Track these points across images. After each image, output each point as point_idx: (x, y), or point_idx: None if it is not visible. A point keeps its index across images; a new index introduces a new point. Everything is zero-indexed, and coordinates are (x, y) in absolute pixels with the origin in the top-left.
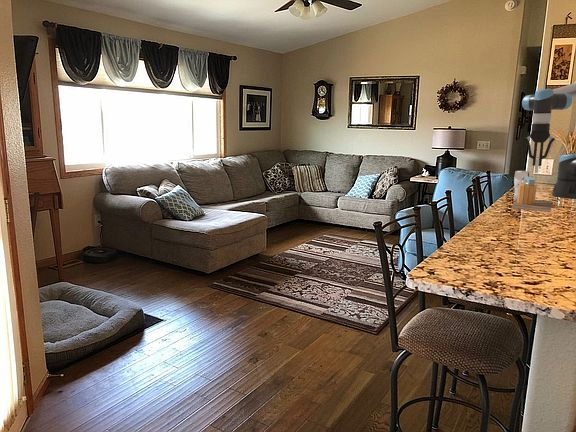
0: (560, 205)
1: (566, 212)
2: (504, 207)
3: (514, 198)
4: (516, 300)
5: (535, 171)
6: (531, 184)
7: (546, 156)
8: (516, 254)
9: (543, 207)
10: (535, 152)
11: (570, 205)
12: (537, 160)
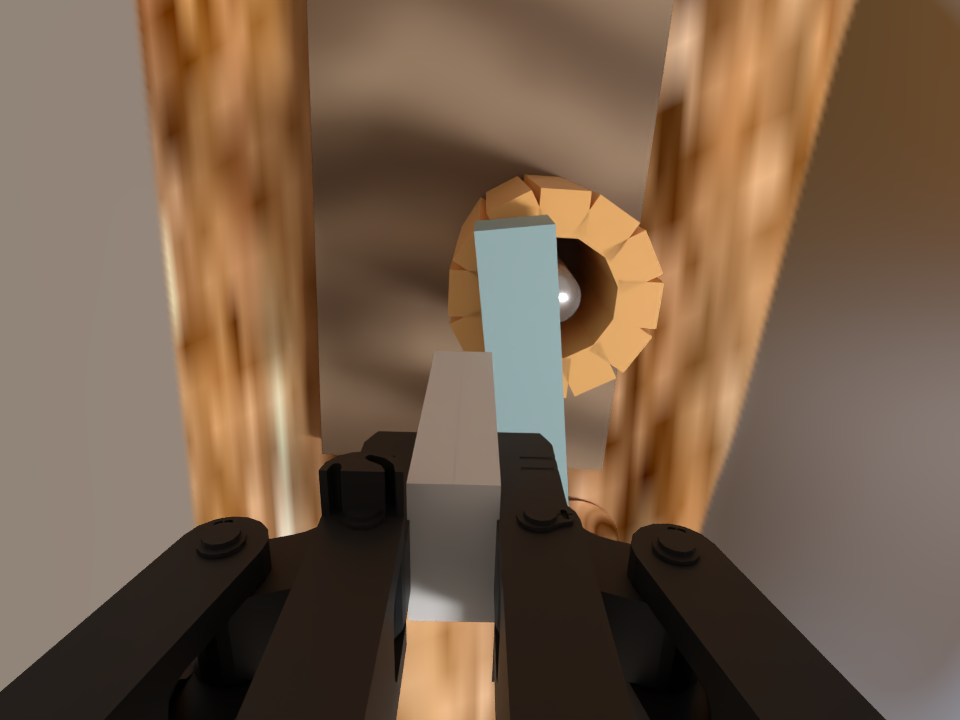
0: (261, 408)
1: (183, 66)
2: (726, 83)
3: (611, 523)
4: None
5: (476, 361)
6: (513, 219)
7: (175, 546)
8: None
9: (375, 61)
10: (547, 665)
11: (192, 440)
12: (451, 466)
